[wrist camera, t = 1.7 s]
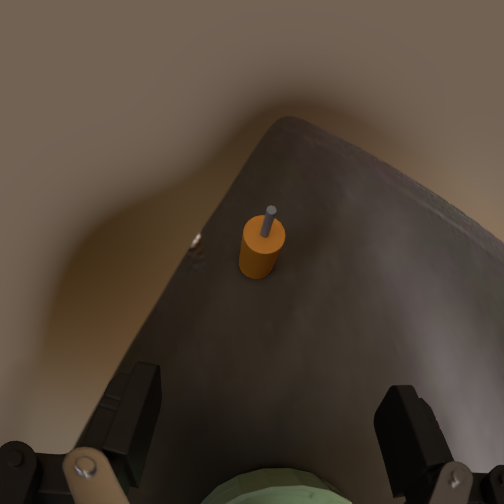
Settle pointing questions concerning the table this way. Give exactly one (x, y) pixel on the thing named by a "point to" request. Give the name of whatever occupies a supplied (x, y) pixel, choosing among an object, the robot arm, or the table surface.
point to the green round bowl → (276, 489)
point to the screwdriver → (261, 244)
